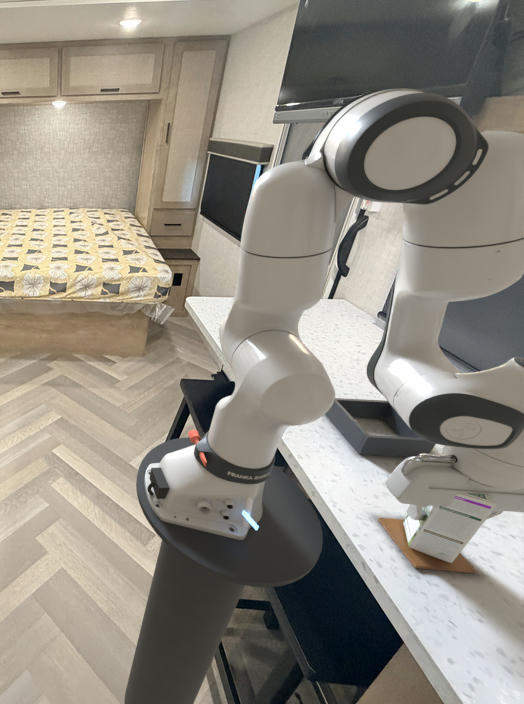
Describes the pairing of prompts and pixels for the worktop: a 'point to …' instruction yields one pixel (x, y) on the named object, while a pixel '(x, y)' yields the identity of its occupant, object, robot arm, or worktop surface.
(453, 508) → the syrup box
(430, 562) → the mat
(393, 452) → the bin
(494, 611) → the worktop surface
